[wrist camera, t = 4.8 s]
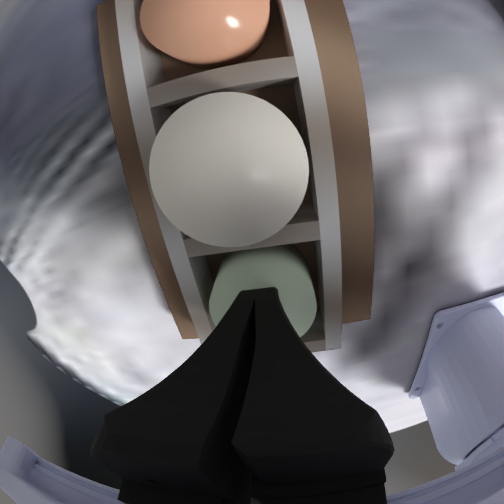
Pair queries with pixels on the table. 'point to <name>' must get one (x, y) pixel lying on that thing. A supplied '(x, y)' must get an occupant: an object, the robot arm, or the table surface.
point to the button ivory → (228, 169)
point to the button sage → (267, 282)
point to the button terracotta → (206, 29)
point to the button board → (305, 121)
